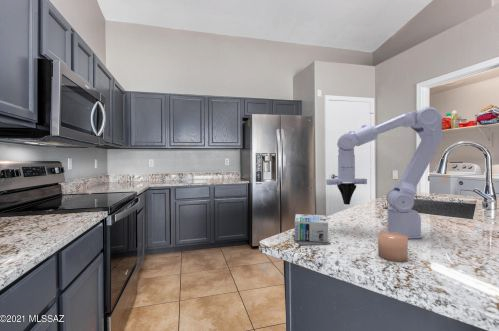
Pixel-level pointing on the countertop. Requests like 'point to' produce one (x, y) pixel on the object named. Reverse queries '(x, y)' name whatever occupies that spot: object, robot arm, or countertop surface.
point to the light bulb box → (311, 228)
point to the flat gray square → (310, 242)
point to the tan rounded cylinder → (393, 246)
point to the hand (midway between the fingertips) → (346, 204)
